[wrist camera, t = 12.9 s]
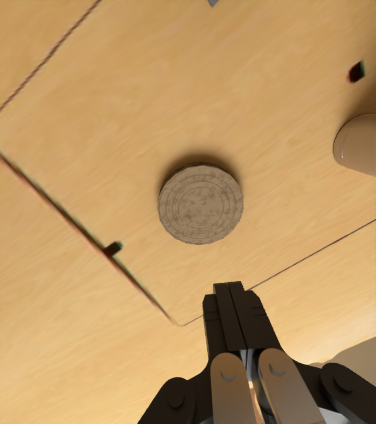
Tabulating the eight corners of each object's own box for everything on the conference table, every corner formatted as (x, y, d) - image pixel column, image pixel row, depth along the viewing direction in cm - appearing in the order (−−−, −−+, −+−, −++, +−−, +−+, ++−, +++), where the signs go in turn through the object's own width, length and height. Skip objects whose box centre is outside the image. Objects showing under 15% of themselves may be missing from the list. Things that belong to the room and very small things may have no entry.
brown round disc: (212, 143, 36) (215, 146, 34) (253, 210, 42) (258, 217, 40) (141, 193, 40) (139, 199, 37) (189, 249, 46) (189, 257, 43)
